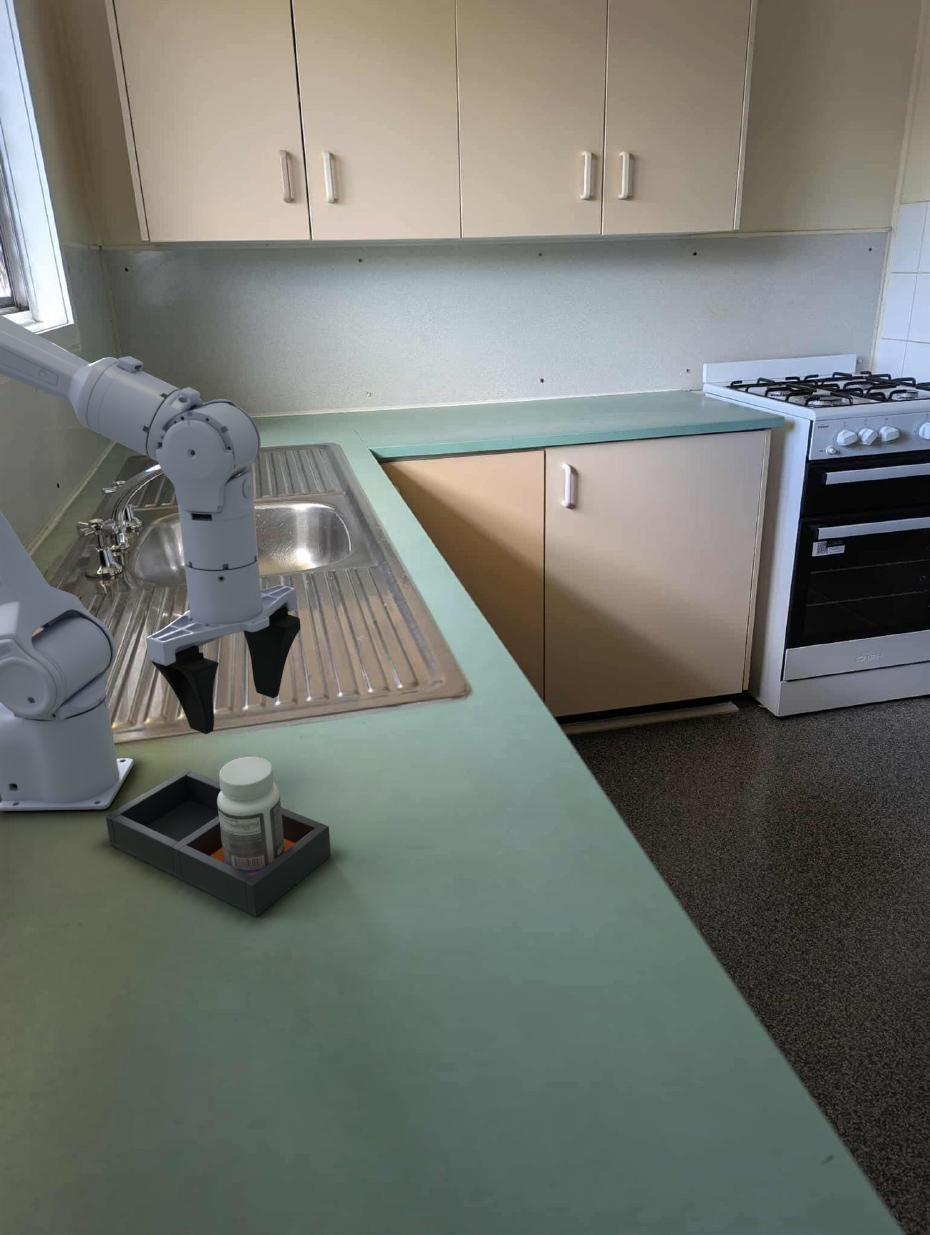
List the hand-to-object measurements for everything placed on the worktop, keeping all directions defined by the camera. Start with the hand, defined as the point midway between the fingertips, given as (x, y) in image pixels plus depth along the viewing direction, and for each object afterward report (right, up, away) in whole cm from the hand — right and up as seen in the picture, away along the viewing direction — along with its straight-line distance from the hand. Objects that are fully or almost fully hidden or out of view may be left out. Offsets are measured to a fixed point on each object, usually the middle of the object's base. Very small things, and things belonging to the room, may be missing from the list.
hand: (235, 711), depth 75 cm
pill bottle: (+3, -12, -5) cm, 13 cm away
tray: (-1, -11, -3) cm, 12 cm away
